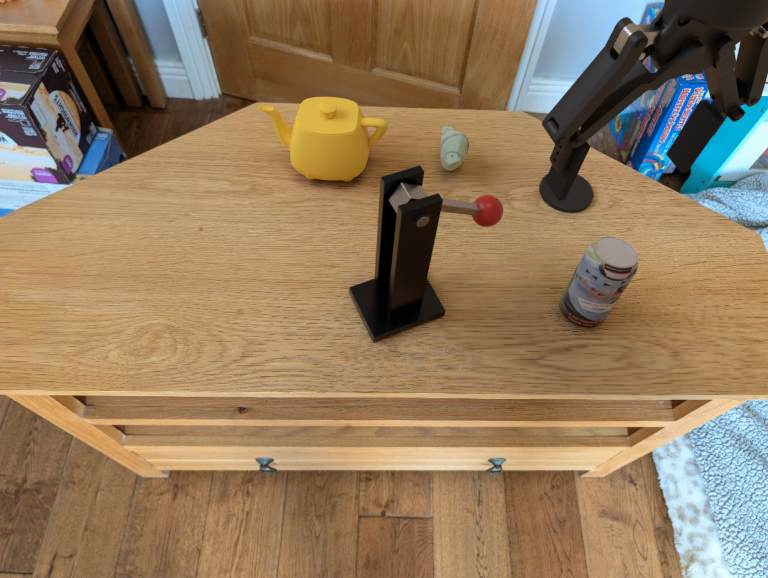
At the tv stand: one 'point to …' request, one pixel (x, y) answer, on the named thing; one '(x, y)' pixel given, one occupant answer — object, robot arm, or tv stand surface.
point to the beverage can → (598, 281)
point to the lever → (454, 204)
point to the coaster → (569, 196)
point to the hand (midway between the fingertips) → (617, 176)
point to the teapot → (328, 137)
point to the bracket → (401, 262)
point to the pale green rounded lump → (453, 147)
